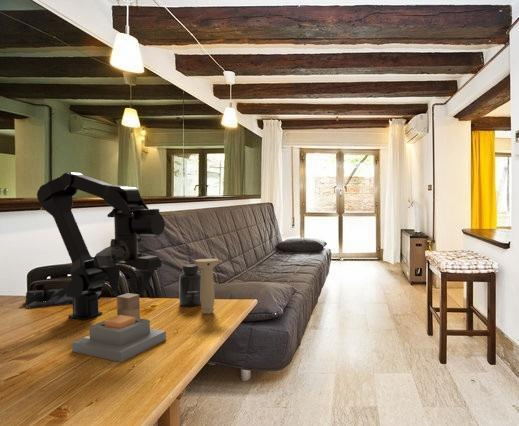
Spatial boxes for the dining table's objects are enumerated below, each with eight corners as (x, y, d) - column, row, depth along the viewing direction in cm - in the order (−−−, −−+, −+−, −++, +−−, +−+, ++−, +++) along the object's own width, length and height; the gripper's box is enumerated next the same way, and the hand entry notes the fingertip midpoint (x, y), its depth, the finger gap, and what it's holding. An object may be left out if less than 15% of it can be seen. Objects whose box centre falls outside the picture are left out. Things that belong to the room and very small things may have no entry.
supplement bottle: (191, 308, 121) (191, 267, 120) (174, 305, 124) (173, 265, 124) (206, 302, 127) (206, 264, 126) (190, 300, 130) (189, 262, 130)
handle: (220, 314, 115) (219, 260, 114) (197, 316, 112) (196, 262, 112) (216, 309, 119) (215, 258, 118) (194, 311, 117) (193, 259, 116)
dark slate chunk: (99, 304, 129) (99, 289, 129) (20, 310, 123) (20, 295, 122) (102, 293, 144) (102, 279, 143) (32, 298, 137) (32, 284, 137)
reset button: (104, 332, 90) (104, 320, 90) (120, 326, 94) (119, 314, 94) (120, 335, 88) (120, 322, 88) (135, 329, 92) (135, 317, 92)
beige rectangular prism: (117, 322, 108) (116, 296, 108) (128, 318, 112) (127, 293, 111) (129, 324, 106) (128, 298, 106) (139, 320, 110) (139, 294, 110)
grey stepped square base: (72, 351, 88) (71, 328, 88) (120, 331, 101) (120, 311, 101) (121, 362, 82) (120, 337, 82) (166, 339, 95) (165, 318, 94)
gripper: (75, 236, 105) (77, 296, 105) (131, 239, 97) (132, 304, 97) (108, 232, 115) (110, 287, 115) (162, 234, 107) (163, 294, 107)
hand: (127, 293), depth 109 cm, fingers open, 9 cm apart
